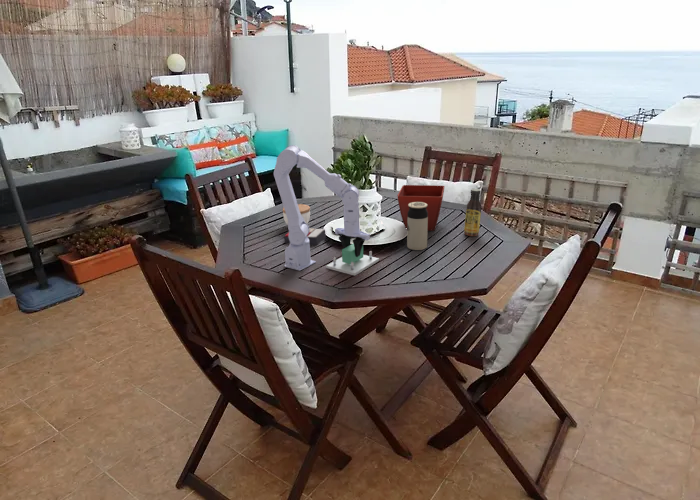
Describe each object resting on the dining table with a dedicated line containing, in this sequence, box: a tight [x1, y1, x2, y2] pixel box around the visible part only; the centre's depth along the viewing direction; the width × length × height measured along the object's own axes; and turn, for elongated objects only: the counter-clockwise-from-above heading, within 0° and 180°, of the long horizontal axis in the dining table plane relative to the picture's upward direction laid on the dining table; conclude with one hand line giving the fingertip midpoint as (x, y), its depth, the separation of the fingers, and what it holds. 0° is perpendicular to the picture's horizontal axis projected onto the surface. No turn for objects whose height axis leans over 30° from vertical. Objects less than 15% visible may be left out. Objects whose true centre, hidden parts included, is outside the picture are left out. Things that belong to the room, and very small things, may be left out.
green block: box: [341, 242, 364, 264], centre depth 181 cm, size 8×4×5 cm, turn 144°
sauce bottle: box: [463, 188, 482, 237], centre depth 204 cm, size 7×6×20 cm
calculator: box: [283, 227, 327, 246], centre depth 209 cm, size 11×4×15 cm
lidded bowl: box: [282, 203, 311, 226], centre depth 224 cm, size 13×13×11 cm
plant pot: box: [397, 184, 445, 232], centre depth 217 cm, size 19×19×17 cm
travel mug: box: [406, 202, 428, 251], centre depth 193 cm, size 8×8×18 cm
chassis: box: [325, 250, 380, 276], centre depth 181 cm, size 16×13×4 cm
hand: (352, 254), depth 181 cm, fingers closed on green block, 4 cm apart
